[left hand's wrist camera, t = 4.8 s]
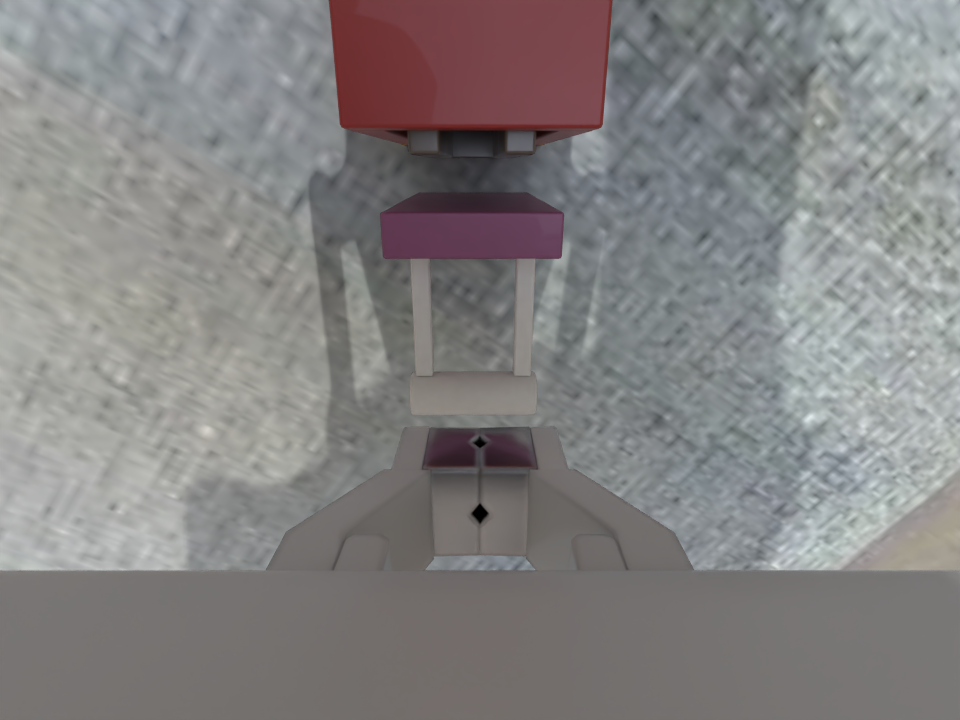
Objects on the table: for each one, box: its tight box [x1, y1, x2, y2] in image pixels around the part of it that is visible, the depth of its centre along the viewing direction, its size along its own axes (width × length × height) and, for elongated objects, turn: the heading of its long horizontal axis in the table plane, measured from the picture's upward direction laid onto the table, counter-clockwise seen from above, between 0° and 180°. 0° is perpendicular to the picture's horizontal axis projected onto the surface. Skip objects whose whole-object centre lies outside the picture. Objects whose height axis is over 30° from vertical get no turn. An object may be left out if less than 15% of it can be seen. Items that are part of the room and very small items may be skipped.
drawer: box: [380, 130, 564, 415], centre depth 16 cm, size 25×5×10 cm, turn 0°
